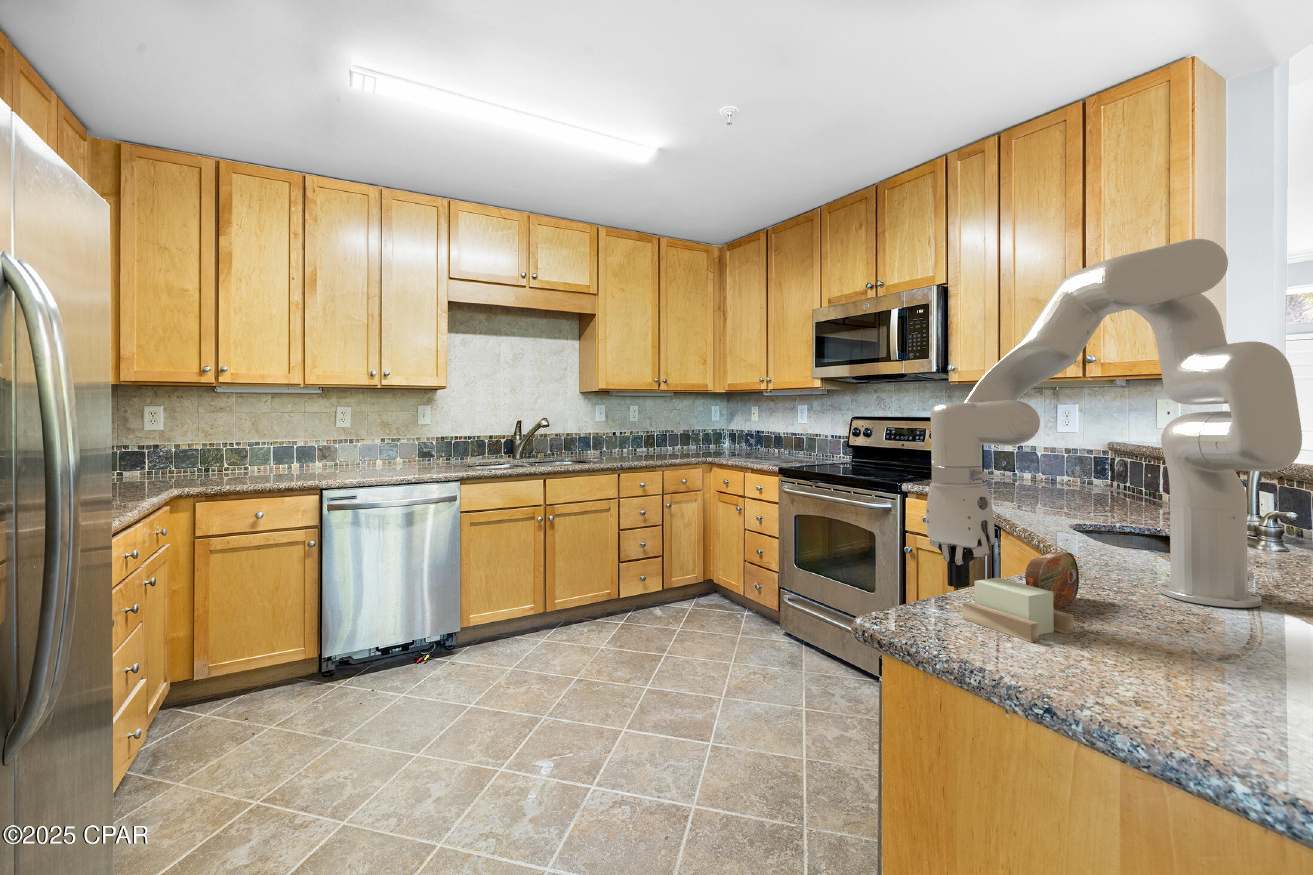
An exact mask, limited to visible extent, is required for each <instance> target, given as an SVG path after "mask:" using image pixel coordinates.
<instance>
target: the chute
mask: <svg viewBox="0 0 1313 875" xmlns="http://www.w3.org/2000/svg"><path fill="white" fill-rule="evenodd" d="M1053 617H1054V632H1055V631H1056V632H1059V633H1063V634H1066V635H1068V634H1072V633H1073V634H1074V633H1075V632H1074V631H1075V630H1074V615H1073V614H1070V613H1066V612H1062V611H1059V610H1057V609H1056V610H1053ZM962 620H964V621H968V622H971V623H973V624H977V625H978V626H983V627H985V628H989V629H991V630H994V631H996V632H999V633H1003V634H1006V635H1008V636H1012V637H1014V638H1017V639H1020V640H1023V641H1026V642H1030V643H1034V642H1038V641H1039V635H1038V623H1037V622H1034V621H1030V620H1027V619H1024V618H1020V617H1017V616H1014V615H1011V614H1007V613H1004V612H1001V611H998V610H994V609H991V608H988V607H985V606H981V605H978V604H975V602H972V601H967V602H962Z"/></svg>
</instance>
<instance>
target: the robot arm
mask: <svg viewBox="0 0 1313 875" xmlns="http://www.w3.org/2000/svg"><path fill="white" fill-rule="evenodd" d="M1228 267H1229V260H1228V255H1227V253H1226V251H1225V250H1224V248H1223V247H1222V246H1221V245H1220V244H1218V243H1216V242H1214V241H1212V240H1210V239H1205V238H1189V239H1186V240H1182V241H1178V242H1174V243H1170V244H1167V245H1162V246H1158V247H1154V248H1153V247H1152V248H1150V249H1145V250H1142V251H1137V252H1132V253H1126V254H1122V255H1119V256H1116V257H1115V256H1114V257H1112V258H1109V259H1106V260H1103V261H1100V262H1097V263H1095V264H1093V265H1088V266H1086V267H1084V268H1081V269H1078V270H1076V271H1074V272H1072V273H1070V274H1068V275H1067V276H1066V277H1065V278H1063V279H1062V281H1061V282H1060V283H1058V285H1057V287H1056V288H1055V290H1054V291H1053V293H1052V294H1051V296H1049V299H1048V300H1047V302H1046V303H1045V304H1044V306H1043V308H1042V309H1041V311H1040V312H1039V314H1038V315H1037V317H1036V319H1035V320H1034V322H1033V323H1032V324H1031V326H1030V327H1029V329H1028V331H1027V332H1026V333H1025V335H1024V336H1023V337H1022V339H1021V340H1020V341H1019V343H1018V344H1016V346H1014V347H1013V348H1011V349H1010V350H1009V351H1008V352H1007V353H1006V354H1005V355H1004V356H1003V357H1002V358H1001V359H1000V360H998V362H996V363H995V365H993V366H992V367H990V369H989V370H988V371H987V372H986V373H984V375H983V376H982V377H980V379H979V380H978V382H977V383H976V384H975V385H974V387H973V389H972V390H971V391H970V393H969V394H968V396H967V397H966V399H965V400H964V402H948V403H939V404H935V405H934V406H933V407H932V408H931V411H930V446H931V449H930V450H931V451H930V452H931V483H930V484H929V487H928V494H927V500H926V511H925V528H926V535H927V537H928V539H929V544H930V546H932V547H934V548H936V549H937V550H939V551H940V552H941V554H942V557H943V560H944V562H946V563H947V564H946V568H947V569H946V570H947V571H946V572H947V573H946V574H947V576H946V577H947V578H946V579H947V586H948V587H951V588H952V587H953V589H954V588H955V589H960V588H965V587H967V588H968V587H970V584H971V581H970V580H971V579H970V577H971V574H970V573H971V572H970V564H972V563H973V562H974V560H975V559H976V558H978V557H986V556H989V555H990V550H989V547H990V546H992V545H993V546H994V543H995V538H996V537H995V535H996V534H995V520H994V511H993V504H992V499H991V495H990V492H989V488H988V486H987V485H983V481H985V480H987V478H988V473H987V472H986V471H983V445H986V446H999V447H1000V446H1001V447H1002V446H1005V447H1006V446H1007V447H1009V446H1010V447H1012V446H1018V445H1022V444H1026V443H1027V442H1029V441H1030V440H1032V439H1033V438H1034V437H1035V436H1036V435H1037V434H1038V431H1039V430H1040V426H1041V419H1040V418H1041V417H1040V416H1039V414H1038V412H1037V410H1036V409H1035V408H1034V407H1033V406H1032V405H1030V404H1029V403H1026V402H1023V401H1021V400H1019V398H1020V397H1022V395H1024V394H1025V393H1026V392H1028V391H1029V390H1031V389H1032V388H1034V387H1036V386H1038V385H1039V384H1041V383H1043V382H1045V381H1047V380H1049V379H1051V378H1053V377H1055V376H1057V375H1059V374H1060V373H1063V372H1064V371H1066V369H1069V368H1070V367H1071V366H1072V365H1073V364H1074V363H1076V361H1077V360H1078V358H1079V357H1080V354H1081V353H1082V352H1083V350H1084V349H1085V347H1087V344H1088V343H1089V341H1090V339H1091V338H1092V337H1093V335H1094V334H1095V332H1096V330H1097V329H1098V328H1099V327H1100V325H1101V323H1102V322H1103V320H1104V319H1105V318H1106V317H1107V316H1108V315H1111V314H1116V313H1119V312H1124V311H1129V310H1131V311H1132V312H1135V313H1136V314H1138V315H1139V316H1141V317H1142V319H1144V320H1145V321H1146V322H1147V323H1148V324H1149V325H1150V327H1151V329H1152V332H1153V334H1154V338H1155V344H1156V349H1157V353H1158V360H1159V366H1160V374H1161V378H1162V383H1163V388H1164V391H1165V393H1166V394H1167V395H1166V396H1168V398H1169V399H1170V400H1171V401H1173V402H1175V403H1177V404H1181V405H1182V404H1183V405H1193V406H1194V405H1197V406H1198V405H1199V406H1202V405H1220V404H1221V405H1222V404H1227V405H1228V407H1229V410H1226V411H1225V410H1223V411H1222V410H1221V411H1218V410H1217V411H1200V412H1199V411H1197V412H1189V413H1187V414H1186V413H1185V414H1182V415H1181V416H1178V417H1176V418H1174V419H1172V420H1171V421H1170V422H1169V423H1167V424H1166V426H1165V427H1164V429H1163V431H1162V434H1161V438H1160V439H1161V440H1160V441H1161V442H1160V443H1161V450H1162V453H1163V454H1162V455H1163V457H1164V461H1165V464H1166V469H1167V474H1168V484H1169V539H1170V540H1169V542H1170V543H1169V546H1170V549H1169V550H1170V552H1169V553H1170V581H1164V582H1161V583H1159V588H1158V590H1159V592H1160V593H1162V594H1163V595H1165V596H1168V597H1169V598H1173V599H1176V600H1179V601H1183V602H1189V603H1192V604H1193V603H1194V604H1197V605H1198V604H1199V605H1204V606H1213V607H1220V608H1221V607H1222V608H1234V609H1235V608H1236V609H1239V608H1243V609H1246V608H1248V609H1249V608H1257V607H1259V606H1261V605H1262V604H1263V603H1262V600H1263V599H1262V596H1261V595H1259V594H1257V593H1255V592H1252V591H1249V582H1253V581H1254V580H1255V574H1254V573H1253V572H1251V571H1250V570H1248V568H1249V567H1248V566H1249V565H1248V564H1249V563H1248V562H1249V561H1248V557H1249V556H1248V554H1249V552H1248V497H1247V491H1246V489H1245V486H1244V484H1243V482H1242V480H1241V479H1240V477H1239V475H1238V474H1237V472H1236V471H1245V472H1275V471H1276V472H1277V471H1280V470H1283V469H1286V468H1287V467H1289V466H1291V465H1292V464H1293V463H1294V462H1295V461H1296V460H1297V458H1298V457H1299V455H1300V453H1301V449H1302V445H1303V433H1302V432H1303V431H1302V425H1301V416H1300V411H1299V405H1298V398H1297V392H1296V386H1295V379H1294V373H1293V369H1292V367H1291V363H1289V360H1288V359H1287V357H1286V356H1285V355H1284V354H1283V353H1282V352H1281V351H1280V349H1278V348H1277V347H1275V345H1271V344H1269V343H1266V342H1261V341H1243V342H1241V341H1240V342H1234V343H1233V342H1232V343H1228V340H1227V338H1226V334H1225V333H1226V332H1225V329H1224V325H1223V322H1222V317H1221V314H1220V312H1219V310H1218V308H1217V307H1216V305H1215V304H1214V303H1213V302H1212V301H1211V300H1210V298H1208V297H1207V296H1206V295H1204V293H1206V292H1208V291H1209V290H1212V289H1214V287H1216V286H1217V285H1218V284H1219V283H1220V282H1221V281H1222V280H1223V279H1224V277H1225V276H1226V273H1227V271H1228Z"/></svg>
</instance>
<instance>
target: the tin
mask: <svg viewBox="0 0 1313 875" xmlns="http://www.w3.org/2000/svg"><path fill="white" fill-rule="evenodd" d="M1078 566H1079V565H1078V562H1077V560H1076V558H1075V556H1074V555H1073V554H1072V553H1071V552H1060V551H1059V552H1058V551H1052V552H1049V553H1047V554H1044V555H1040V556H1038V557H1036V558H1032V559H1031V560H1029V562H1028V564H1027V565H1026V569H1025V572H1024V579H1025V585H1029V586H1032V587H1036V588H1040V589H1044V590H1048V591H1052V592H1053V610H1056V611H1057V610H1058V609H1060V608H1063V607H1065V606H1066V605H1069V604H1071V603H1072V602H1074V601H1075V600H1076V597H1078V596H1077V595H1078V591H1079V586H1080V573H1079V567H1078Z"/></svg>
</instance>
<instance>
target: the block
mask: <svg viewBox="0 0 1313 875" xmlns="http://www.w3.org/2000/svg"><path fill="white" fill-rule="evenodd" d="M973 582H974V603H975V604H978V605H981V606H985V607H988V608H991V609H994V610H998V611H1001V612H1004V613H1007V614H1011V615H1014V616H1017V617H1020V618H1024V619H1027V620H1030V621H1034V622H1037V623H1038V636H1039V635H1044V634H1050V633H1054V632H1055V630H1054V617H1053V592H1052V591H1048V590H1044V589H1040V588H1036V587H1032V586H1029V585H1026V583H1025V584H1024V583H1020V582H1017V581H1014V580H1008V579H1005V578H1001V577H993V578H992V577H991V578H986V579H980V580H979V579H978V580H974V581H973Z"/></svg>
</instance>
